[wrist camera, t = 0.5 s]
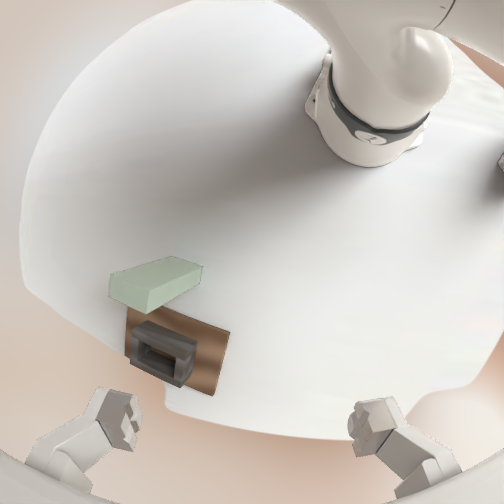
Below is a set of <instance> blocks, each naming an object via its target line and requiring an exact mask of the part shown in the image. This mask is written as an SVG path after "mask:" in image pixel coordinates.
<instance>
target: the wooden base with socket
mask: <svg viewBox="0 0 504 504" xmlns="http://www.w3.org/2000/svg"><path fill="white" fill-rule="evenodd" d="M229 335H230V332H228V331H226V330H223V329H220V328H217V327H215V326H212V325H209V324H206V323H204V322H201V321H198V320H196V319H193V318H191V317H188V316H186V315H183V314H180V313H178V312H175V311H173V310H171V309H168V308H166V307H163V306H160V307H158V308H156V309H155V310H153V311H151V312H149V313H148V314H144V313H142V312H140V311H138V310H135V309H133V308H131V307H129V306H128V310H127V323H126V337H125V356H126V357H128V358H130V364H132V365H134V366H136V367H137V368H139V369H141V370H143V371H145V372H147V373H149V374H151V375H153V376H155V377H158V378H159V379H161V380H163V381H166V382H168V383H170V384H172V385H174V386H176V387H179V388H181V387H182V386H183V384H184V385H186V386H188V387H191V388H193V389H195V390H198V391H200V392H203V393H205V394H208V395H210V396H213V395H214V393H215V390H216V386H217V382H218V378H219V374H220V370H221V366H222V362H223V359H224V355H225V351H226V347H227V343H228V339H229Z"/></svg>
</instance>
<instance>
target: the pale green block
mask: <svg viewBox="0 0 504 504" xmlns="http://www.w3.org/2000/svg"><path fill="white" fill-rule="evenodd" d="M202 270H203V266H200V265H197V264H194V263H191V262H188V261H185V260H182V259H179V258H176V257H173V256H170V257H167V258H164V259H160V260H157V261H153V262H150V263H147V264H143V265H140V266H137V267H133V268H130V269H127V270H123V271H120V272H117V273H113V274H110V285H109V297H110V298H112V299H114V300H116V301H119V302H121V303H123V304H125V305H127V306H129V307H131V308H133V309H135V310H138V311H140V312H142V313H144V314H148V313H149V312H151V311H153V310H155V309H156V308H158V307H160V306H162V305H163V304H165V303H167V302H169V301H170V300H172V299H174V298H176V297H177V296H179V295H181V294H182V293H184V292H186V291H188V290H189V289H191V288H193V287H195V286H196V285H198V284H200V279H201V274H202Z"/></svg>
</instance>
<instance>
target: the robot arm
mask: <svg viewBox="0 0 504 504" xmlns="http://www.w3.org/2000/svg"><path fill="white" fill-rule="evenodd" d="M272 1H274V2H276V3H278V4H280V5H282V6H284V7H285V8H287V9H289V10H291V11H292V12H294V13H295V14H297V15H298V16H300V17H301V18H302V19H304V20H305V21H306V22H307V23H309V24H310V25H311V26H312V27H313V28H314V29H315V30H316V31H317V32H318V33H319V34H320V35H321V36H322V37H323V38H324V39H325V40H326V41H327V43H328V44H329V45H330V47H331V53H330V54H326V55H325V57H324V59H323V63H322V66H323V69H322V71H321V73H320V75H319V77H318V79H317V81H316V83H315V85H314V87H313V89H312V91H311V93H310V95H309V97H308V99H307V101H306V103H305V112H306V113H307V114H308V115H309V116H310V117H311V118H312V119H313V120H314V121H315V122H316V123H317V125H318V127H319V129H320V131H321V134H322V136H323V138H324V140H325V142H326V143H327V145H328V146H329V147H330V148H331V149H332V150H333V151H334V152H335V153H336V154H337V155H338V156H340V157H341V158H342V159H344V160H346V161H348V162H350V163H352V164H355V165H359V166H363V167H378V166H382V165H386V164H388V163H390V162H392V161H394V160H395V159H396V158H397V157H399V156H400V155H401V154H402V153H403V152H404V151H406V150H408V149H412V148H416V147H418V146H419V145H420V144H421V143H422V141H423V131H424V130H425V129H426V126H427V124H426V123H425V120H426V119H427V117H428V115H429V113H430V110H431V109H432V108H434V107H435V106H436V105H437V104H438V103H439V102H440V101H441V100H442V99H443V98H444V97H445V95H446V94H447V93H448V91H449V89H450V86H451V83H452V79H453V62H452V58H451V55H450V52H449V49H448V47H447V45H446V44H445V42H444V40H443V38H442V37H441V35H444V36H446V37H448V38H451V39H453V40H455V41H457V42H460V43H462V44H464V45H466V46H468V47H470V48H472V49H474V50H476V51H478V52H480V53H482V54H483V55H485V56H487V57H489V58H490V59H492V60H494V61H496V62H497V63H499V64H501V65H502V66H504V0H272ZM440 34H441V35H440ZM313 100H315V103H314V102H313ZM137 403H138V399H137V396H136V395H133V394H129V393H124V392H120V391H116V390H112V389H108V388H103V387H98V388H97V389H96V390H95V392H94V394H93V396H92V398H91V400H90V402H89V404H88V406H87V408H86V410H85V412H84V414H83V416H77V417H76V418H74V419H72V420H71V421H69V422H67V423H65V424H64V425H62V426H60V427H58V428H57V429H55V430H53V431H51V432H49V433H48V434H46V435H44V436H42V437H40V438H39V439H37V440H36V442H35V444H34V446H33V447H32V450H31V452H30V454H29V456H28V457H27V459H26V461H25V464H24V463H22V462H20V461H19V460H17V459H15V458H14V457H12V456H10V455H9V454H7V453H6V452H4V451H2V450H1V449H0V504H119V503H116V502H112V501H109V500H106V499H103V498H100V497H97V496H94V495H92V494H90V492H91V489H92V486H93V484H92V482H91V481H90V480H89V479H88V478H87V476H85V474H84V472H85V471H86V470H88V469H89V468H90V467H91V466H93V465H94V464H95V463H96V462H97V461H99V460H100V459H101V458H102V457H103V456H105V455H106V454H107V453H108V452H109V451H111V450H112V448H113V447H114V448H118V449H122V450H127V451H132V452H133V451H134V448H135V444H136V441H137V437H136V435H135V433H136V432H137V431H139V430H140V428H141V424H142V411H141V408H140V407H139V406H138V405H137ZM354 409H355V412H353V413H352V414H350V417H349V419H348V432H349V436H351V437H352V438H353V439H355V440H354V442H353V444H352V445H353V449H354V452H355V455H356V457H361V456H367V455H372V454H375V455H376V456H377V457H378V458H379V459H380V460H381V461H382V462H384V463H385V464H386V465H387V466H388V467H389V468H390V469H391V470H392V471H394V472H395V473H396V474H397V475H398V476H399V477H401V478H402V479H403V480H404V481H403V482H402V483H400V484H399V485H398V486H397V487H396V488H395V490H394V491H395V494H396V498H397V499H396V500H393V501H390V502H387V503H384V504H504V448H503V449H502V450H500V451H499V452H497V453H495V454H494V455H492V456H490V457H489V458H487V459H486V460H484V461H482V462H480V463H479V464H477V465H475V466H473V467H471V468H469V469H468V470H466V471H464V472H462V470H461V468H460V466H459V464H458V462H457V460H456V458H455V456H454V454H453V452H452V450H451V449H449V448H448V447H446V446H444V445H443V444H441V443H439V442H438V441H436V440H435V439H433V438H431V437H429V436H428V435H426V434H425V433H423V432H422V431H420V430H419V429H417V428H416V427H414V426H412V425H408V424H407V422H406V420H405V418H404V415H403V413H402V411H401V410H400V408H399V406H398V404H397V402H396V400H395V398H394V397H393V396H392V397H386V398H378V399H372V400H365V401H358V402H357V403H356V404H355V406H354Z"/></svg>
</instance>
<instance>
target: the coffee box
mask: <svg viewBox="0 0 504 504" xmlns="http://www.w3.org/2000/svg"><path fill="white" fill-rule="evenodd" d="M498 164H499V166H500V167H501V169H502V170H503V172H504V154H503V155H502V157H501V158H500V160H499V161H498Z"/></svg>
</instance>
